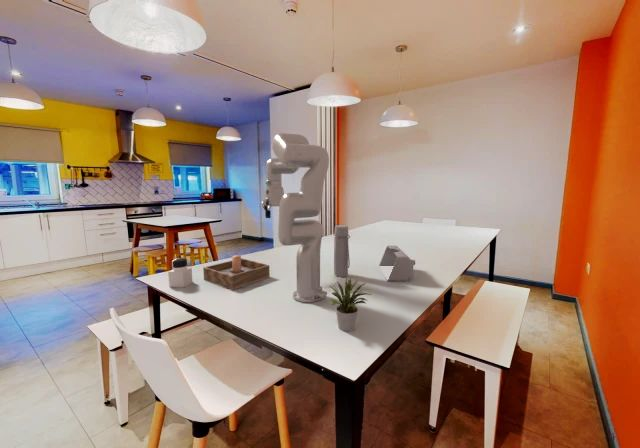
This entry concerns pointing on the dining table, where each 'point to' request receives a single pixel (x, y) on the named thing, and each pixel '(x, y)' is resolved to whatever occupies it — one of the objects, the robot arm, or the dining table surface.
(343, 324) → the house plant
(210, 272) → the open box
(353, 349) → the dining table surface
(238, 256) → the peg
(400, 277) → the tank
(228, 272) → the bore plate
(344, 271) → the water bottle
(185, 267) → the medicine bottle
